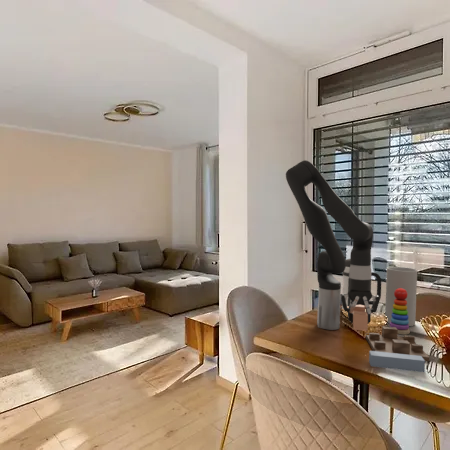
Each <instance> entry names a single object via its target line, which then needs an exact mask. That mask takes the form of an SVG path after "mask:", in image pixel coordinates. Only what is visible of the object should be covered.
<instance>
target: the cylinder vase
mask: <svg viewBox="0 0 450 450" xmlns="http://www.w3.org/2000/svg"><path fill="white" fill-rule="evenodd" d="M385 280H386V283H385V303H384V307H385V309H384V311H385V312H384V317H385V316H387V318H388V323H387V324H389V325H390V322H391V318H392V313H393V312H392V309H393V304H395V303H394V300H395V299H397V298H396V297H395V295H394V292H395V290H396V289H398V288H402V289H405V290H406V291H407V298H406V299H405V300H406V301H407V304H406V306H407V309H406V310H407V311H408V314H407V315H408V317H409V318H408V320H409V323H408V325H409V326H411V327H413V325H414V326H415V325H416V311H417V310H416V309H417V287H418V285H417V284H418V269H415V268H410V267H405V266H404V267H403V266H398V267H397V266H387V267H386V279H385Z"/></svg>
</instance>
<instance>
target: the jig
mask: <svg viewBox="0 0 450 450" xmlns="http://www.w3.org/2000/svg"><path fill="white" fill-rule="evenodd" d="M368 334H369V335H366V337H365V339H366V341H367V342H368V345H369V347H370V348H371V351H378V352H387V353H397V354H407V355H416V356H422V358H423V359H424V360H425V362H430V356H429V354H427V353H426V352H425V350H424V345H423V344H418V343H417V342H416V339H415V336H414V335H407V334H406V335H403V336H400V335H399V334H398V329H397V328H396V327H390V326H384V325H382V326H381V334H380V333H377V332H369V333H368Z"/></svg>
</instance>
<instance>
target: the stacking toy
mask: <svg viewBox="0 0 450 450" xmlns="http://www.w3.org/2000/svg"><path fill="white" fill-rule="evenodd" d="M394 295H395V297H396V298H397V299H395V300H394V303H395V304H393V309H392V312H393V313H392V318H391V322H390V324H389V327H396V328H397V329H398V335H399V336H400V335H403V336H404V335H406V336H407V335H409V334H410V332H411V329H409V328H410V327H409V325H408V323H409V320H408V318H409V317H408V315H407V314H408V311H407V310H406V309H407V306H406V304H407V301H406V300H405V299H406V298H407V291H406V290H405V289H402V288H398V289H396V290H395V292H394Z"/></svg>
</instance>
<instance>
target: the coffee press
mask: <svg viewBox="0 0 450 450" xmlns="http://www.w3.org/2000/svg"><path fill="white" fill-rule="evenodd" d="M345 260H346V268H345V270H344V272H342V294H348V292H349V270H350V258H348V259H345ZM371 277H375V279H376V284H377V285H376V295H377V296H379V297H380V299H381V297H382V279H381V276H380V275H379V274H378V273H376V272H373V271H371ZM350 302H351V299H350V298H349V297H347V300H346V304H347V306H350ZM368 304H369V306H370V305H372V304H373V300H369V302H368ZM341 305H342V304H341ZM341 309H342V310H343V305H342V306H340V311H341Z"/></svg>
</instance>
